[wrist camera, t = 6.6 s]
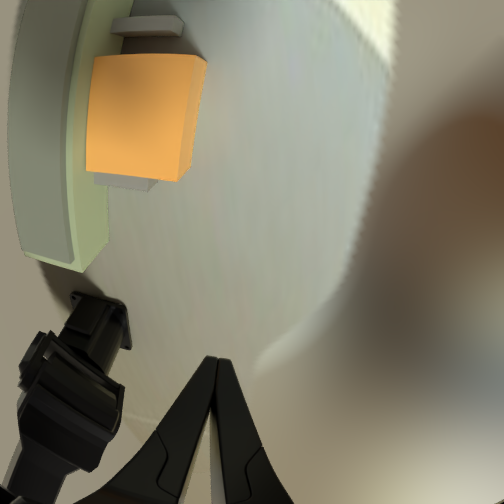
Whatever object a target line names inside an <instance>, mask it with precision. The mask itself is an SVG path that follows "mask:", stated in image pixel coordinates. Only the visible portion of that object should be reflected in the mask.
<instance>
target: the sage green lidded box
mask: <svg viewBox="0 0 504 504" xmlns="http://www.w3.org/2000/svg"><path fill="white" fill-rule="evenodd" d="M133 2H134V0H28V1H27V4H26V8H25V11H24V14H23V18H22V21H21V25H20V29H19V33H18V38H17V43H16V47H15V53H14V58H13V65H12V71H11V79H10V88H9V100H8V123H7V142H8V165H9V177H10V186H11V195H12V202H13V208H14V215H15V220H16V226H17V231H18V235H19V240H20V245H21V249H22V250H23V251H24V254H25V256H28V257H31V258H34V259H37V260H40V261H43V262H46V263H50V264H53V265H56V266H60V267H63V268H67V269H70V270H74V271H77V272H81V273H83V272H84V271H85V269H86V268H87V267H88V266H89V264H90V263H91V262H92V261H93V259H94V258H95V257H96V256H97V254H98V253H99V252H100V251H101V250H102V249H103V247H104V246H105V245H106V244H107V243H108V241H109V226H108V186H112V187H119V188H125V189H132V190H138V191H145V192H148V191H149V190H150V189H151V188H152V187H153V186H154V185H155V184H156V183H157V182H158V179H152V178H144V177H137V176H128V175H120V174H111V173H101V172H91V171H86V133H87V116H88V104H89V94H90V85H91V77H92V70H93V64H94V58H95V57H99V56H110V55H120V54H121V49H122V45H123V40H124V37H138V36H179V37H181V34H182V30H183V26H184V22H183V21H181V20H180V19H179V18H178V17H177V16H175V15H155V16H136V17H129V16H130V12H131V9H132V5H133Z"/></svg>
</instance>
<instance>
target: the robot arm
mask: <svg viewBox="0 0 504 504" xmlns="http://www.w3.org/2000/svg"><path fill="white" fill-rule="evenodd" d="M70 299H71V303H72V306H73V311H72V313H71V314H70V316H69V317H68V319H67V321H66V322H65V324H64V325H65V326H64V327H63V329H62V331H61V332H60V334H59V336H58V337H57V336H56V335H55V333H53V332H52V331H51V330H50V331H49V332H48V333H47V334H46V333H43V332H41V331H39V332H38V334H37V335H36V337H35V338H34V340H33V341H32V343H31V345H30V346H29V348H28V350H27V351H26V353H25V355H24V357H23V359H22V360H21V362H20V364H19V370H20V377H19V378H20V381H19V383H18V387H19V388H20V389H22V390H23V391H22V393H21V395H20V397H19V399H18V401H17V416H18V426H19V433H20V440H19V443H18V445H17V447H16V449H15V452H14V454H13V456H12V459H11V461H10V464H9V466H8V469H7V472H6V475H5V477H4V480H3V483H2V485H1V484H0V504H55V502H56V499H57V496H58V494H59V492H60V489H61V487H62V484H63V482H64V480H65V478H66V476H67V475H69V474H71V473H73V472H75V471H77V470H79V469H82V470H84V471H86V472H88V473H90V472H92V471H93V470H94V469H95V468H97V467H98V465H99V463H100V460H101V457H102V454H103V452H104V450H105V448H106V446H107V444H108V442H110V441H111V440H112V439H113V438H114V437H115V435H116V433H117V431H118V429H119V427H120V423H121V417H122V407H123V399H124V391H125V387H124V386H123V385H121V384H118V383H117V382H115V381H114V380H112V379H111V378H110V377H108V374H109V372H110V369H111V367H112V365H113V362H114V360H115V357H116V355H117V353H118V350H119V348H122V349H126V350H131V349H132V340H131V334H130V327H129V320H128V312H127V309H126V307H124V306H123V305H119V304H115V303H112V302H108V301H105V300H101V299H98V298H94V297H91V296H87V295H84V294H81V293H78V292H74V291H73V292H72V293H71V294H70ZM43 356H45V357H46V358H47V359H45V358H44V357H43ZM209 412H210V473H211V500H212V504H294V502H293V501H292V499H291V498H290V496H289V495H288V493H287V492H286V490H285V489H284V487H283V485H282V484H281V482H280V480H279V479H278V477H277V475H276V473H275V472H274V470H273V468H272V466H271V464H270V461H269V459H268V457H267V455H266V452H265V450H264V447H262V443H261V440H260V438H259V435H258V432H257V430H256V427H255V425H254V422H253V419H252V417H251V414H250V411H249V409H248V406H247V403H246V401H245V398H244V395H243V393H242V390H241V387H240V384H239V381H238V379H237V376H236V373H235V370H234V367H233V364H232V362H231V360H230V359H225V358H219V359H218V358H217V357H214V356H206V357H205V358H204V359H203V361H202V362H201V364H200V365H199V367H198V368H197V370H196V371H195V373H194V374H193V376H192V377H191V379H190V380H189V381H188V383H187V384H186V386H185V387H184V389H183V390H182V392H181V393H180V395H179V396H178V397H177V399H176V400H175V402H174V403H173V405H172V406H171V408H170V409H169V410H168V412H167V413H166V415H165V416H164V418H163V419H162V420H161V422H160V423H159V425H158V426H157V427H156V430H154V432H153V433H152V434H151V436H150V437H149V439H148V440H147V441H146V442H145V444H144V445H143V446H142V448H141V449H140V450H139V451H138V452H137V453H136V454H135V456H134V457H133V458H132V459H131V460H130V461H129V462H128V463H127V464H126V465H125V466H124V467H123V468H122V469H121V470H120V471H119V472H118V473H117V474H116V475H115V476H114V477H113V478H112V479H111V480H109V481H108V482H107V483H106V484H105V485H104V486H102V487H101V488H100V489H98V490H97V491H95V492H94V493H92V494H90V495H88V496H87V497H85V498H83V499H81V500H79V501H77V502H76V503H73V504H183V503H184V499H185V496H186V492H187V489H188V486H189V482H190V479H191V475H192V472H193V469H194V465H195V462H196V458H197V455H198V451H199V448H200V444H201V441H202V437H203V434H204V431H205V427H206V424H207V420H208V416H209ZM496 504H504V500H502V501H500V502H498V503H496Z"/></svg>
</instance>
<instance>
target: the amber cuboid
mask: <svg viewBox="0 0 504 504" xmlns="http://www.w3.org/2000/svg"><path fill="white" fill-rule="evenodd" d="M206 67H207V62H206V61H205V60H203V59H201V58H200V57H198V56H196V55H186V54H124V55H110V56H99V57H95V58H94V64H93V70H92V77H91V85H90V94H89V104H88V116H87V133H86V171H91V172H101V173H111V174H120V175H128V176H137V177H144V178H152V179H159V180H167V181H174V182H177V181H178V180H179V179H180V178H181V177H182V176H183V175H184V174H185V172H186V171H187V170H188V169H189V168H190V167H191V159H192V151H193V144H194V137H195V130H196V124H197V117H198V111H199V105H200V99H201V94H202V88H203V83H204V77H205V72H206Z"/></svg>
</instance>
